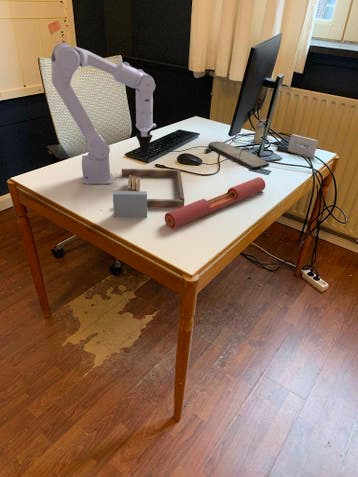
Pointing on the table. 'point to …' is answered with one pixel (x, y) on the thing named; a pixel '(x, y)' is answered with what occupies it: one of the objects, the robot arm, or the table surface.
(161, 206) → the rack
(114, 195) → the grey upright plank
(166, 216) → the blood vessel
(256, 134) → the lighter
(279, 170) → the table surface
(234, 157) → the stone slab
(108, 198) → the table surface
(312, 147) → the cassette
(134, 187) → the offcut stack
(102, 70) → the robot arm
